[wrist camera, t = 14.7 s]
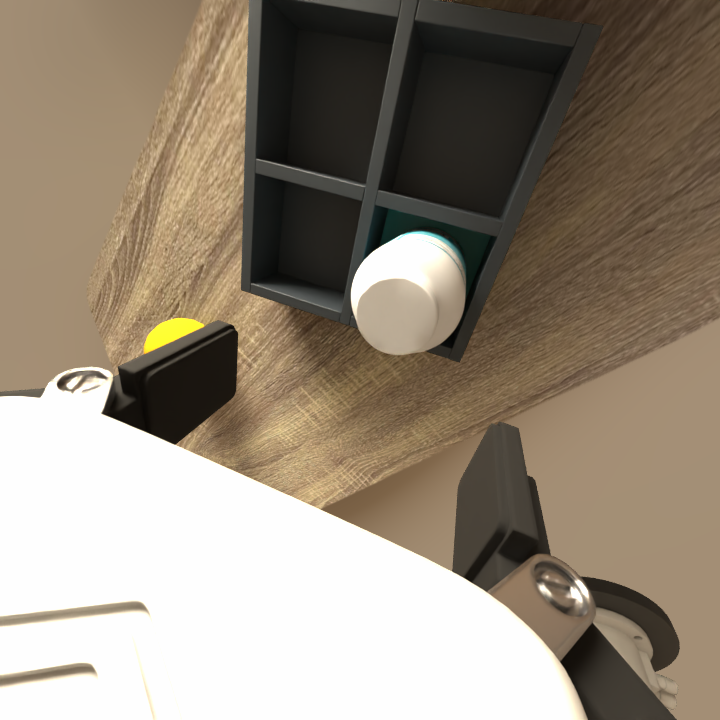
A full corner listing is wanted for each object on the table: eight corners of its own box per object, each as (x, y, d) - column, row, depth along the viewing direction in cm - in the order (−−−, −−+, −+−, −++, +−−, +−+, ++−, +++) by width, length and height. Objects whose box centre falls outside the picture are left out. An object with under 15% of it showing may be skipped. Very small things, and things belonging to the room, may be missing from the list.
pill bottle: (399, 318, 33) (359, 387, 21) (372, 245, 30) (310, 277, 19) (477, 295, 29) (479, 361, 18) (454, 211, 27) (439, 225, 16)
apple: (239, 358, 43) (198, 387, 36) (200, 374, 46) (156, 403, 40) (204, 302, 40) (154, 322, 34) (166, 323, 44) (114, 345, 38)
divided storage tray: (574, 63, 22) (604, 25, 17) (461, 336, 33) (459, 362, 28) (294, 14, 26) (249, -30, 20) (273, 276, 36) (240, 290, 31)
